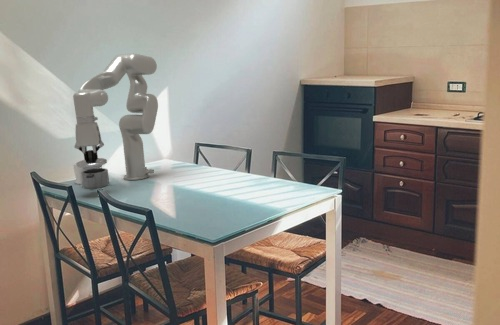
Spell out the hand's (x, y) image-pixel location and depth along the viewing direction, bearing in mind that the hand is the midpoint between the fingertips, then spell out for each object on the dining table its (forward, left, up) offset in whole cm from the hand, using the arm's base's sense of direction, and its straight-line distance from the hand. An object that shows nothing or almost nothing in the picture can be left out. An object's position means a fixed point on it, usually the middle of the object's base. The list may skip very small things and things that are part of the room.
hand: (91, 160), depth 239 cm
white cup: (+12, -23, -15) cm, 30 cm away
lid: (0, 0, -3) cm, 3 cm away
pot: (+4, -16, -15) cm, 23 cm away
